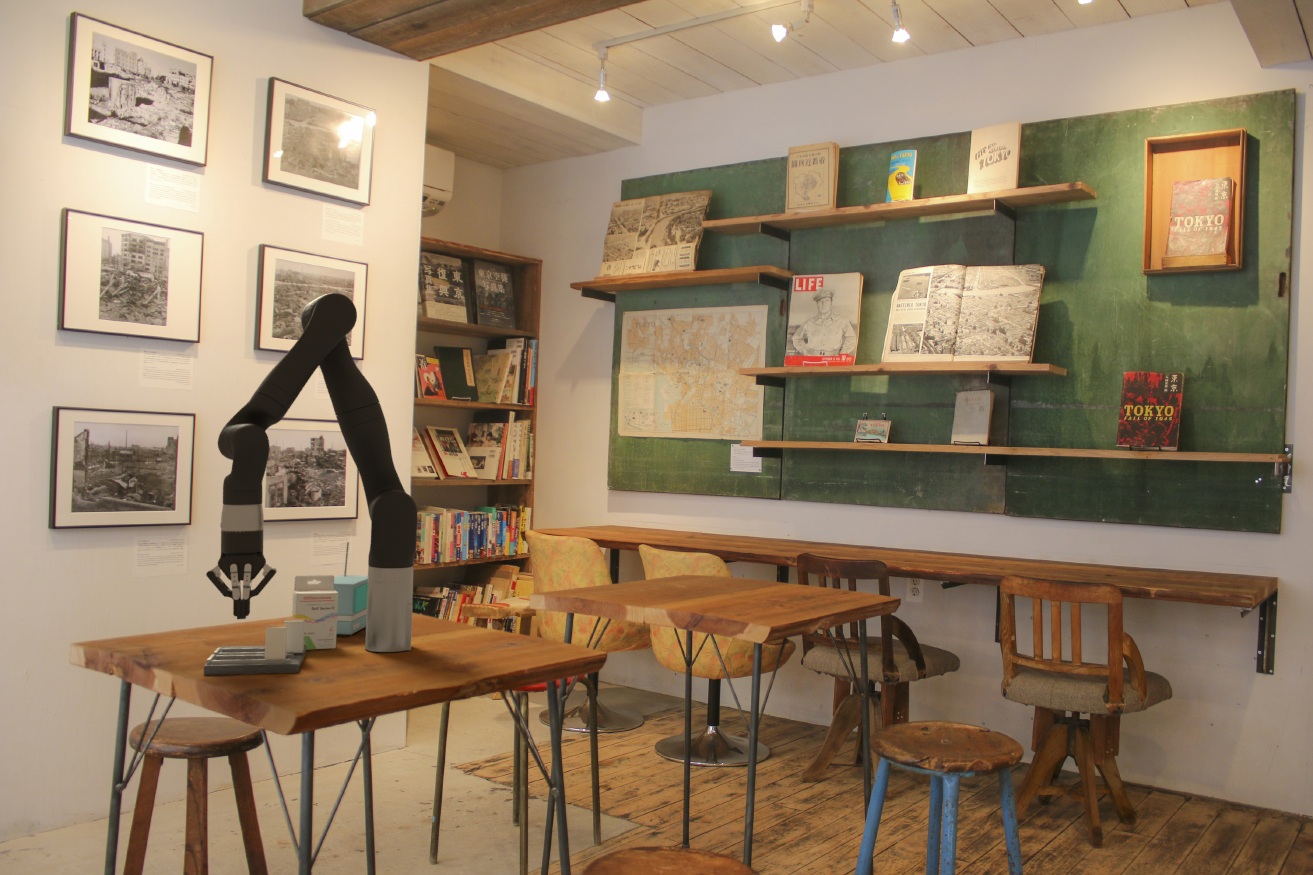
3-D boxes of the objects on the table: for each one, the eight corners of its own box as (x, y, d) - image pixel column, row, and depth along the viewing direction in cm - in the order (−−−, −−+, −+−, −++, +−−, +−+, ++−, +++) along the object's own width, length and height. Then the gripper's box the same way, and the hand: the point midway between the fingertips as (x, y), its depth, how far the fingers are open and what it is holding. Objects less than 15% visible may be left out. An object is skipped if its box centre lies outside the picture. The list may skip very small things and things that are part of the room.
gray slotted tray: (306, 652, 204) (306, 640, 204) (297, 672, 185) (298, 659, 185) (220, 654, 199) (221, 642, 200) (203, 674, 181) (204, 661, 181)
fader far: (303, 649, 197) (304, 617, 197) (302, 652, 194) (303, 620, 195) (284, 649, 196) (285, 617, 197) (282, 652, 193) (284, 620, 194)
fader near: (286, 656, 190) (287, 623, 190) (284, 659, 187) (285, 626, 187) (266, 657, 189) (267, 623, 189) (264, 660, 186) (265, 626, 186)
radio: (356, 638, 222) (359, 547, 222) (315, 637, 222) (319, 546, 222) (377, 626, 237) (380, 541, 238) (339, 625, 237) (342, 540, 238)
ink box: (293, 650, 205) (296, 578, 206) (289, 646, 210) (292, 575, 210) (337, 648, 209) (339, 577, 210) (332, 644, 214) (335, 574, 214)
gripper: (280, 526, 198) (279, 614, 198) (208, 527, 195) (207, 616, 194) (277, 528, 191) (276, 620, 191) (201, 530, 187) (200, 623, 187)
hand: (241, 618), depth 193 cm, fingers closed
